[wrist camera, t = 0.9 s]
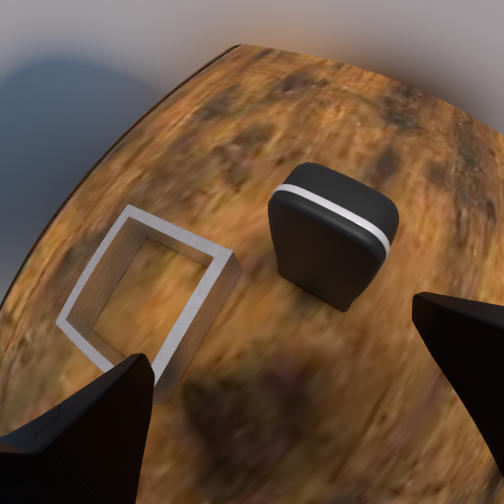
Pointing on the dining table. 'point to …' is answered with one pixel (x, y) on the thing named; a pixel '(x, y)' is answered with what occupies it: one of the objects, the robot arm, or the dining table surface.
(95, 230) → the dining table surface
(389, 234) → the battery charger
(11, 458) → the robot arm
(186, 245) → the hollow square metal frame
